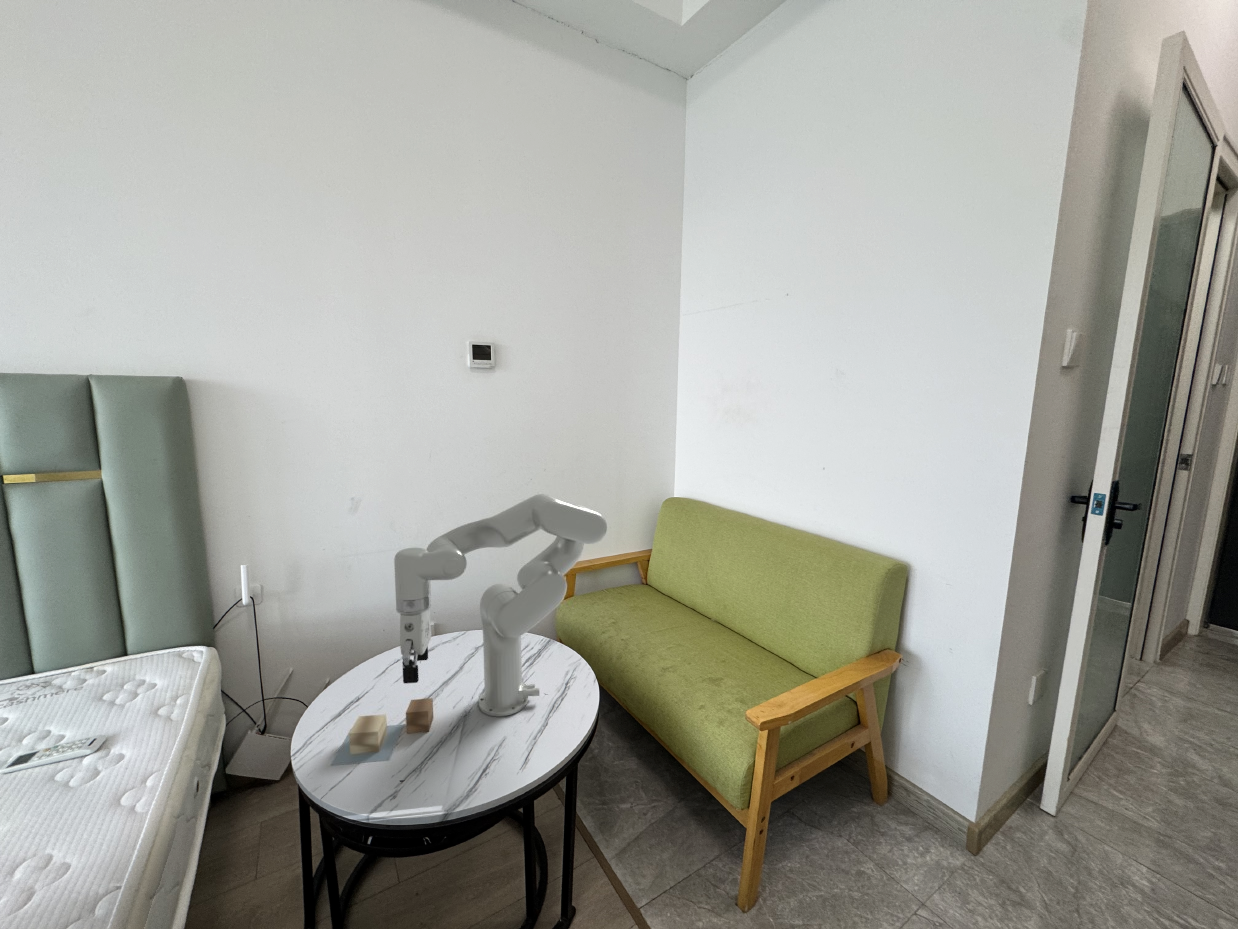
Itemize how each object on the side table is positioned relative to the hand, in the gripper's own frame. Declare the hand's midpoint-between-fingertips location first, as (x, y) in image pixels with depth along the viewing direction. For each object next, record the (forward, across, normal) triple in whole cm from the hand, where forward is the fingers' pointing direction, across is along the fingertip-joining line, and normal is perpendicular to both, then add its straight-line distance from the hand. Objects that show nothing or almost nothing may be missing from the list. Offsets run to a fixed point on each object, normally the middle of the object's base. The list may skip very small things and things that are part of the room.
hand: (416, 670), depth 119 cm
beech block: (+14, -5, +10) cm, 18 cm away
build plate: (+15, -5, +10) cm, 18 cm away
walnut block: (+15, 0, 0) cm, 15 cm away
